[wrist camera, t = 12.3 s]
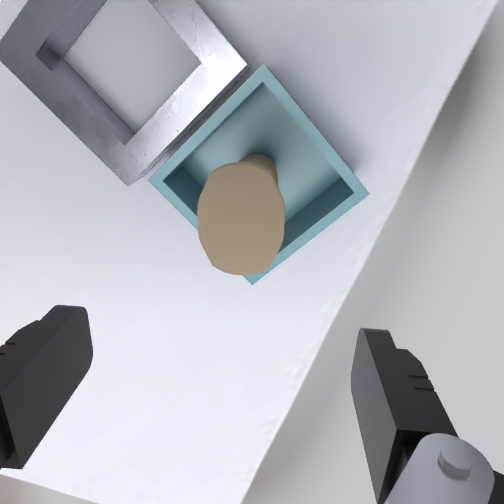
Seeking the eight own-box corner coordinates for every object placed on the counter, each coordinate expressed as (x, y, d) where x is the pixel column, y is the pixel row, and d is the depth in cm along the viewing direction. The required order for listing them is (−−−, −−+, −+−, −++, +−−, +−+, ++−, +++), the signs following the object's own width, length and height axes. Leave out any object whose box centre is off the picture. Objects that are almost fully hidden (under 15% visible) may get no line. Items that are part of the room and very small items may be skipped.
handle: (285, 133, 34) (286, 165, 20) (283, 204, 36) (282, 276, 23) (230, 132, 34) (194, 163, 20) (231, 203, 37) (200, 273, 23)
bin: (171, 163, 36) (147, 179, 30) (267, 67, 33) (263, 63, 26) (257, 252, 39) (252, 285, 33) (354, 174, 36) (369, 193, 29)
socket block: (24, 56, 34) (-8, 52, 30) (126, -85, 29) (103, -109, 26) (143, 176, 37) (127, 186, 34) (250, 67, 33) (246, 64, 29)
